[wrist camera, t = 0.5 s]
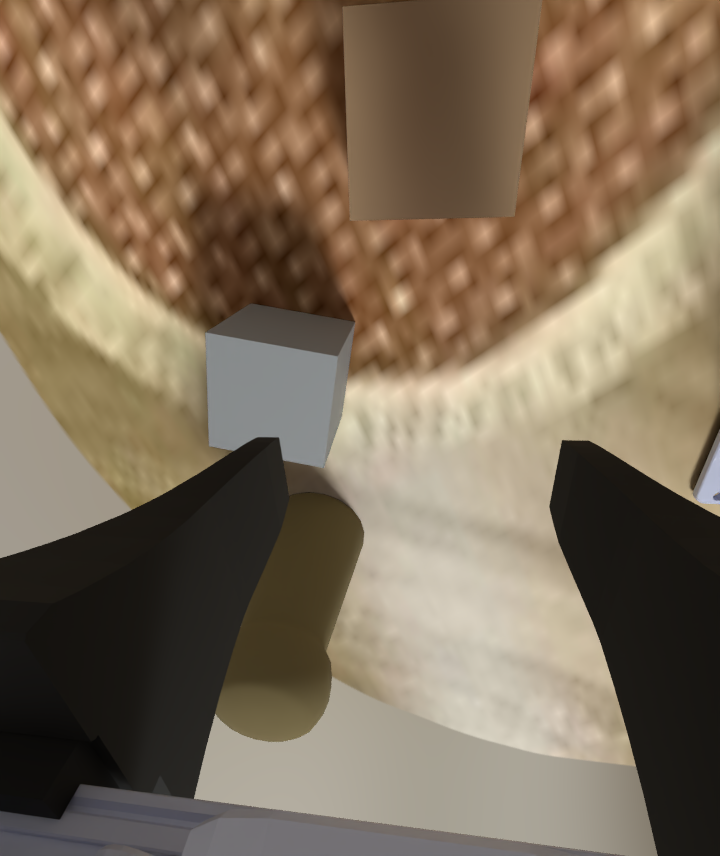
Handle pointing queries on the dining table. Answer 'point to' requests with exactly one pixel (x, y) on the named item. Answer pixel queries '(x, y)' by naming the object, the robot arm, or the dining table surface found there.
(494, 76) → the walnut block
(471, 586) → the dining table surface
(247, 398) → the slate grey block
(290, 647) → the olive brown rounded piece
